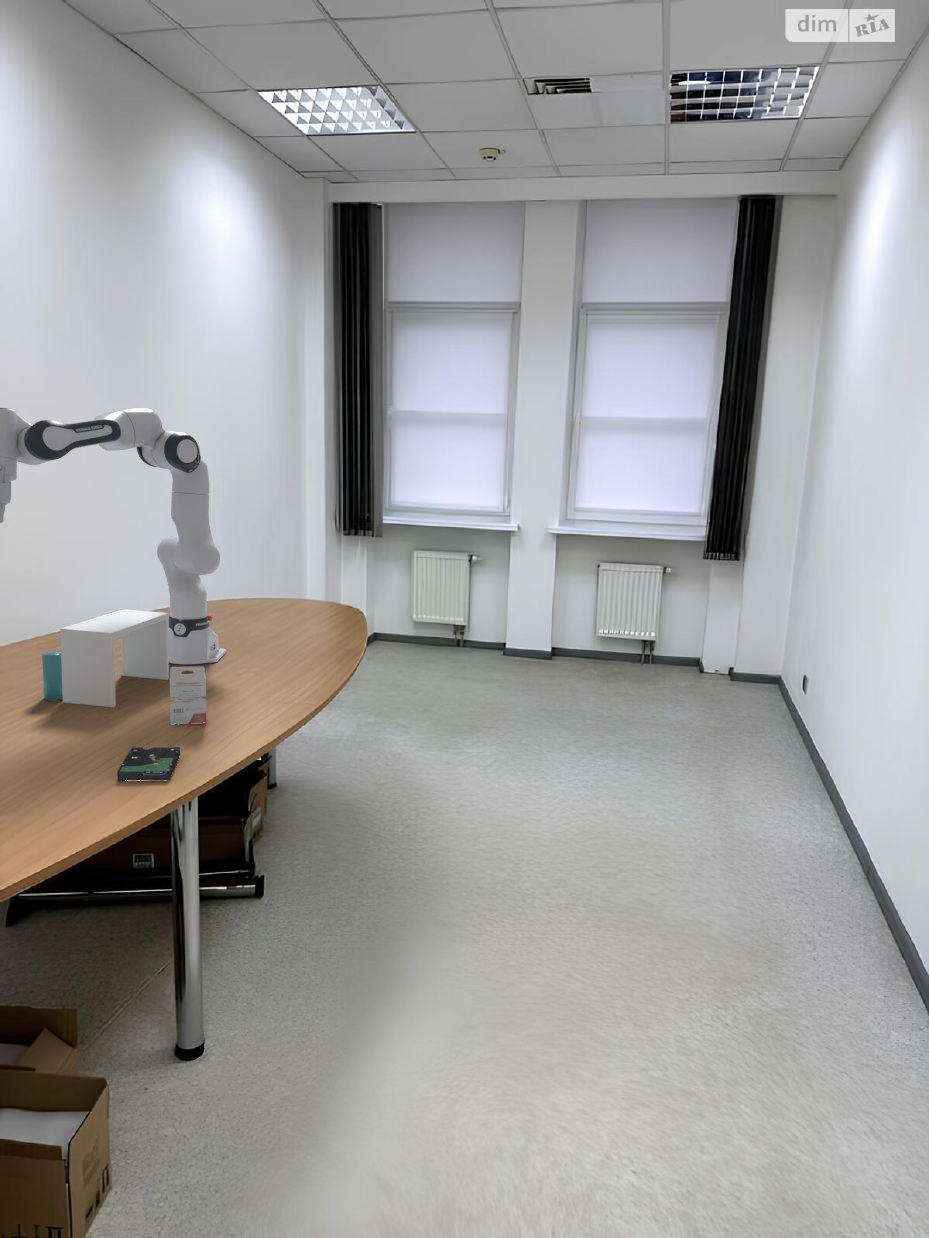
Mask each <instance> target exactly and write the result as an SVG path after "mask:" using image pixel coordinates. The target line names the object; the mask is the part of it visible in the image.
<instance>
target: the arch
mask: <svg viewBox="0 0 929 1238" xmlns="http://www.w3.org/2000/svg"><path fill="white" fill-rule="evenodd" d="M168 620H169V612H160V611H149V610H148V611H147V610H146V611H145V610H137V609H136V610H135V609H125V608H124V609H123V608H122V609H120V610H119V609H118V610H116V611H113V612H110V613H106V614H104V615H99V616H96V617H94V618H91V619H87V620H83V621H81V622H77V623H74V624H70V625H68V626H67V625H66V626H65V627H61V628H60V651H61V663H62V694H63V700H62V703H65V704H74V705H83V706H84V705H87V706H94V707H95V706H96V707H105V708H106V707H107V708H115V707H116V704H117V703H116V668H115V667H116V663H115V662H116V661H115V659H116V658H115V657H116V656H115V654H116V653H115V639H116V638H120V640H121V641H120V646H121V647H120V650H121V652H120V653H121V677H122V676H123V677H131V678H142V679H143V678H144V679H152V680H153V679H154V680H164V681H168V680H170V674H169V673H170V665H169V664H170V663H169V640H168V630H169V623H168Z"/></svg>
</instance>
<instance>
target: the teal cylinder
mask: <svg viewBox="0 0 929 1238" xmlns="http://www.w3.org/2000/svg"><path fill="white" fill-rule="evenodd" d="M41 656H42V657H41V658H42V661H41V662H42V687H43V700H44V701H48V702H49V701H50V702H57V701H63V694H62V663H61V650H57V651H55V650H54V651H47V652H43V653H42V654H41Z"/></svg>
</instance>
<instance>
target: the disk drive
mask: <svg viewBox="0 0 929 1238" xmlns="http://www.w3.org/2000/svg"><path fill="white" fill-rule="evenodd" d="M179 756H180V757H181V748H180V747H178V746H177V747H176V746H175V747H173V746H172V747H165V746H164V747H160V746H159V747H158V746H157V747H155V746H154V747H153V746H152V747H151V748H149V749H145V748H144V747H140V746H139V747H135V746H134V747H131V749H130V750H129V752H128V754H127V755H126V756H125V757H124V758H125V759H124V760H123V761H122V763H121V765H120V767H119V768H118V770H117V772H116V773H117V774H116V777H117V782H118V781H125V780H126V781H127V780H140V781H139V782H142V781H141V780H169V779H170V780H171V778H172V776H173V774H172V772H173V773H174V771H173V770H175V769H174V767H175V765H176V766H177V764H178V762H179V760H180V758H179ZM178 759H179V760H178ZM177 761H178V762H177ZM176 763H177V764H176ZM175 768H176V767H175ZM171 775H172V776H171ZM170 777H171V778H170ZM170 780H169V781H170Z"/></svg>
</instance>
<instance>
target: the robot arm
mask: <svg viewBox="0 0 929 1238" xmlns="http://www.w3.org/2000/svg"><path fill="white" fill-rule="evenodd" d="M94 445H95V446H96V445H97V446H99V447H100V448H101V449H102V450H105V451H124V450H130V449H134V448H136V452H137V454H138V457H139V458H140V460H141V461H142V462H143V463H144V464H146V465H148V466H149V467H153V468H160V469H164V470H169V472H170V474H171V477H172V485H171V505H170V517H171V520H172V521H173V523H174V525H175V529H176V533H177V535H174V536H169V537H165V538H163V539H161V541H160V542H159V544H158V545H157V550H156V555H157V558H158V560H159V562H160V563H161V565H162V567H163V570H164V574H165V578H166V583H167V586H168V592H169V614H170V615H168V640H169V664H174V665H200V664H201V665H202V664H208V663H210V664H211V663H218V661H219V660H220V659H221V658H222V657H224V655H226V653H227V650H226V649H225V648H221V647H220V646H219V645H220V643H219V635H218V634H216V632H214V630H213V629H212V628H211V627H210V622H211V621H212V620H213V615H212V614H207V613H208V612H207V607H208V605H207V602H208V601H207V594H208V593H207V590H206V588H205V586H204V585H203V583H202V581H201V577H200V576H206V575H211V574H213V573H214V572H216V570H217V569H218V568H219V566H220V563H221V554H220V552H219V550H218V548H217V547H216V545H215V543H214V539H213V535H212V532H211V527H210V520H209V519H210V513H209V511H210V477H209V469H208V465H207V463H206V462H205V460H203V459H202V457H201V451H200V447H199V444H198V442H197V440H196V439H195V438H194V437H193V436H191V435H189V434H188V433H185V432H181V431H179V432H178V431H173V430H172V431H171V430H165V429H164V428H163V424H162V420H161V418H160V416H159V415H158V413H157V412H156V411H155V410H152V409H149V408H139V407H135V408H123V409H116V410H112V411H107V412H104V413H102V414H99V415H97V416H95V418H94V419H93V420H87V421H81V422H75V423H63V422H59V421H56V420H50V419H49V420H48V419H42V420H39V421H37V422H34V423H33V424H31V423H29V422H28V421H26V420H25V419H23V418H22V417H21V416H20V415H19V414H18V413H17V412H16V411H15V409H12V408H8V407H0V524H2V523H3V522H4V517H5V511H6V506H7V505H8V504H10V503H11V502H12V501H11V500H12V481H16V480H17V476H18V475H17V474H18V473H17V471H18V463H21V464H26V465H29V466H38V465H41V464H44V463H47V462H51V461H55V460H59V459H62V458H63V457H65V456H66V455H67V454H69V453H70V452H72V450H74V449H79V448H84V447H89V446H94Z"/></svg>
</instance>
